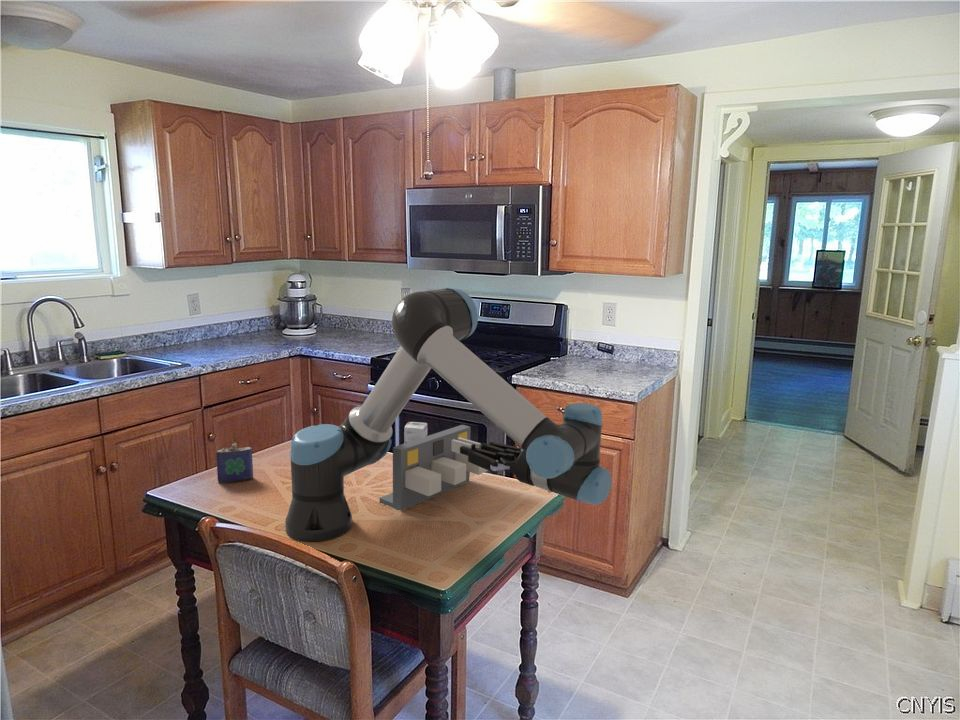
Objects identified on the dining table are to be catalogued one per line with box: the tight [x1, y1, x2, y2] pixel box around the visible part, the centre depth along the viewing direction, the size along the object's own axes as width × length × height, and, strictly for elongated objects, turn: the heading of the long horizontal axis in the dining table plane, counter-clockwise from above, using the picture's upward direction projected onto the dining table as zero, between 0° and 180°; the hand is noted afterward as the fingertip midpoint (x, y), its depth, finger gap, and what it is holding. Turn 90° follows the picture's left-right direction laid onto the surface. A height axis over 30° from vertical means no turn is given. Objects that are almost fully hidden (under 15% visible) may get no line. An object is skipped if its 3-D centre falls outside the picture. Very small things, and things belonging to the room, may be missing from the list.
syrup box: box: [403, 421, 428, 444], centre depth 183 cm, size 6×6×14 cm
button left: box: [404, 466, 441, 496], centre depth 158 cm, size 4×10×4 cm, turn 51°
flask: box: [215, 442, 254, 484], centre depth 174 cm, size 9×3×11 cm, turn 114°
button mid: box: [431, 456, 466, 485], centre depth 165 cm, size 4×10×4 cm, turn 51°
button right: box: [455, 452, 488, 476], centre depth 172 cm, size 4×10×4 cm, turn 51°
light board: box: [378, 424, 472, 512], centre depth 169 cm, size 26×8×16 cm, turn 141°
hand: (455, 444), depth 148 cm, fingers closed
